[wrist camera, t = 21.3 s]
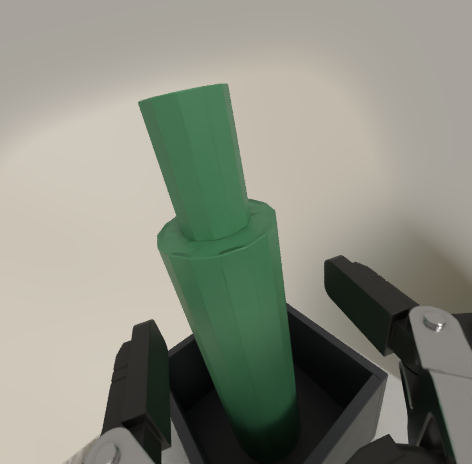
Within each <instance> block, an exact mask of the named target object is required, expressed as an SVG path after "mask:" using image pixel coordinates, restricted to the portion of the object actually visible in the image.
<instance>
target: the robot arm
mask: <svg viewBox="0 0 472 464" xmlns="http://www.w3.org/2000/svg"><path fill="white" fill-rule="evenodd" d="M324 285H325V289H326V292H327V294H328V296H329V297H330V298H331V299H332V300H333V301H334V302H335V304H336V305H337V306H338V307H339V308H340V309H341V310H342V311H343V312H344V314H346V316H347V317H348V318H349V319H350V320H351V321H352V322H353V323H354V324H355V326H356V327H357V328H358V329H359V330H360V331H361V332H362V333H363V334H364V335H365V336H366V338H367V339H368V340H369V341H370V342H371V343H372V344H373V345H374V346H375V347H376V349H378V351H379V352H380V353H381V354H382V355H383V356H384V357H385V356H387V355H389V354H392V353H395V354H396V355H397V356H398V357H399V368H400V374H401V380H402V385H403V391H404V397H405V402H406V408H407V415H408V425H407V430H408V442H409V444H399V443H395V442H394V440H393V439H392V437H391V436H390V435H389V434H388V435H385V436H383V437H381V438H379V439H377V440H375V441H373V442H371V443H369V444H367V445H365V446H363V447H361V448H359V449H358V450H357V451H356V452H355V453H354V455H353V456H352V457H351V458H350V459H349V460H348V461H347V462H346V463H345V464H472V313H462V314H450V313H448V312H446V311H444V310H442V309H439V308H437V307H433V306H426V305H423V306H420V305H419V304H417V303H416V302H414V301H413V300H412V299H411V298H409V297H408V296H406V295H405V294H404V293H402V292H401V291H400V290H398V289H397V288H396V287H394V286H393V285H392V284H390V283H389V282H388V281H387V282H386V281H385V279H383V278H382V277H381V276H380V275H379V276H378V275H377V273H376V272H374V271H373V270H372V269H370V268H369V267H367V266H365V265H362V264H360V263H357V262H354V263H352V262H350V261H349V260H348V259H346V258H345V257H344V256H342V255H339V256H337V257H334V258H331V259H328V260H326V261H325V263H324ZM111 381H112V384H111V386H110V391H109V397H108V402H107V407H106V412H105V418H104V423H103V429H102V432H101V435H100V438H99V439H98V440H97V441H96V442H95V443H94V444H93V445H92V447H91V448H90V450H89V452H88V453H87V455H86V457H85V460H84V462H83V464H161V451H163V450H165V449H168V448H170V447H171V419H170V385H169V355H168V349H167V346H166V343H165V340H164V338H163V336H162V335H161V333H160V331H159V329H158V327H157V325H156V323H155V321H154V320H153V319H152V320H148V321H146V322H143V323H140V324H137V325H135V326H134V327H133V332H132V340H131V341H128V342H125V343H123V345H122V347H121V348H120V350H119V352H118V354H117V356H116V359H115V364H114V372H113V375H112V380H111Z"/></svg>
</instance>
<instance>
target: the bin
mask: <svg viewBox="0 0 472 464" xmlns="http://www.w3.org/2000/svg"><path fill="white" fill-rule="evenodd" d="M286 307H287V316H288V325H289V333H290V342H291V350H292V359H293V368H294V376H295V385H296V394H297V402H298V411H299V419H300V431H299V436H298V440H297V442H296V445H295V446H294V448H293V450H292V451H291V452H290V453H289V454H288V455H287V456H286V457H285V458H283V459H282V460H279V461H277V462H273V463H264V462H260V461H257V460H255V459H253V458H251V457H250V456H249V455H248V454H247V453H246V452H245V451H244V450H243V449H242V447H241V446H240V444H239V442H238V441H237V439H236V437H235V434H234V432H233V429H232V427H231V424H230V422H229V419H228V417H227V415H226V412H225V410H224V407H223V405H222V402H221V400H220V398H219V395H218V393H217V390H216V388H215V385H214V383H213V381H212V378H211V376H210V373H209V371H208V368H207V366H206V364H205V361H204V359H203V356H202V354H201V351H200V349H199V347H198V344H197V342H196V339H195V337H194V334H192V335H190V336H189V337H187V338H186V339H184V340H183V341H182V342H180V343H179V344H177V345H176V346H174V347H173V348H172V349H170V350H169V351H168V355H169V385H170V417H171V420H172V422H173V424H174V427H175V429H176V431H177V434H178V436H179V438H180V441H181V443H182V445H183V448H184V450H185V452H186V455H187V457H188V459H189V462H190V464H345V463H346V462H347V461H348V460H349V459H350V458H351V457H352V456H353V455H354V453H355V452H356V451H357V450H358V449H359V448H361V447H363V446H365V445H367V444H369V443H370V442H371V440H372V439H373V437H374V436H375V434H376V429H377V425H378V420H379V415H380V411H381V406H382V401H383V396H384V392H385V387H386V382H387V378H388V374H387V373H386V372H384V371H383V370H382V369H380V368H379V367H377V366H376V365H374V364H373V363H372V362H370V361H369V360H367V359H366V358H364V357H363V356H362V355H360V354H359V353H357V352H356V351H354V350H353V349H352V348H350V347H349V346H347V345H346V344H344V343H343V342H342V341H340V340H339V339H337V338H336V337H334V336H333V335H332V334H330V333H329V332H327V331H326V330H324V329H323V328H322V327H320V326H319V325H317V324H316V323H315V322H313V321H312V320H310V319H309V318H307V317H306V316H305V315H303V314H302V313H300V312H299V311H297V310H296V309H295V308H293V307H292V306H290V305H289V304H287V303H286Z"/></svg>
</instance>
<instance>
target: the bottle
mask: <svg viewBox="0 0 472 464" xmlns="http://www.w3.org/2000/svg"><path fill="white" fill-rule="evenodd" d="M138 104H139V107H140V110H141V113H142V116H143V119H144V122H145V125H146V128H147V131H148V134H149V136H150V139H151V142H152V145H153V148H154V151H155V154H156V157H157V160H158V163H159V166H160V169H161V172H162V175H163V177H164V180H165V184H166V186H167V189H168V192H169V195H170V198H171V201H172V204H173V207H174V210H175V213H176V217H175V218H173V219H172V220H171V221H169V222H168V223H166V224H165V226H164V227H163V228H162V230H161V231H160V232H159V234H158V235H157V246H158V249H159V252H160V254H161V257H162V259H163V261H164V264H165V266H166V269H167V271H168V274H169V276H170V278H171V281H172V283H173V286H174V288H175V291H176V293H177V296H178V298H179V300H180V303H181V305H182V308H183V310H184V313H185V315H186V317H187V320H188V322H189V325H190V327H191V330H192V332H193V334H194V337H195V339H196V342H197V344H198V347H199V349H200V351H201V354H202V356H203V359H204V361H205V364H206V366H207V368H208V371H209V373H210V376H211V378H212V381H213V383H214V385H215V388H216V390H217V393H218V395H219V398H220V400H221V402H222V405H223V407H224V410H225V412H226V415H227V417H228V419H229V422H230V424H231V427H232V429H233V432H234V434H235V437H236V439H237V441H238V442H239V444H240V446H241V447H242V449H243V450H244V451H245V452H246V453H247V454H248V455H249V456H250V457H251V458H253V459H255V460H257V461H260V462H264V463H273V462H277V461H279V460H282V459H283V458H285V457H286V456H287V455H288V454H289V453H290V452H291V451H292V450H293V448H294V446H295V445H296V442H297V440H298V436H299V431H300V419H299V411H298V402H297V394H296V385H295V376H294V368H293V359H292V350H291V342H290V333H289V325H288V316H287V307H286V299H285V290H284V281H283V273H282V264H281V256H280V247H279V239H278V230H277V222H276V213H275V210H274V209H273V208H271V207H270V206H269V205H268V204H266V203H264V202H260V201H257V200H253V199H248V198H247V192H246V186H245V180H244V175H243V169H242V163H241V157H240V151H239V146H238V140H237V134H236V128H235V122H234V117H233V111H232V106H231V99H230V93H229V88H228V84H215V85H209V86H202V87H197V88H192V89H187V90H182V91H177V92H172V93H168V94H164V95H160V96H156V97H152V98H148V99H145V100H142V101H139V102H138Z"/></svg>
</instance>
